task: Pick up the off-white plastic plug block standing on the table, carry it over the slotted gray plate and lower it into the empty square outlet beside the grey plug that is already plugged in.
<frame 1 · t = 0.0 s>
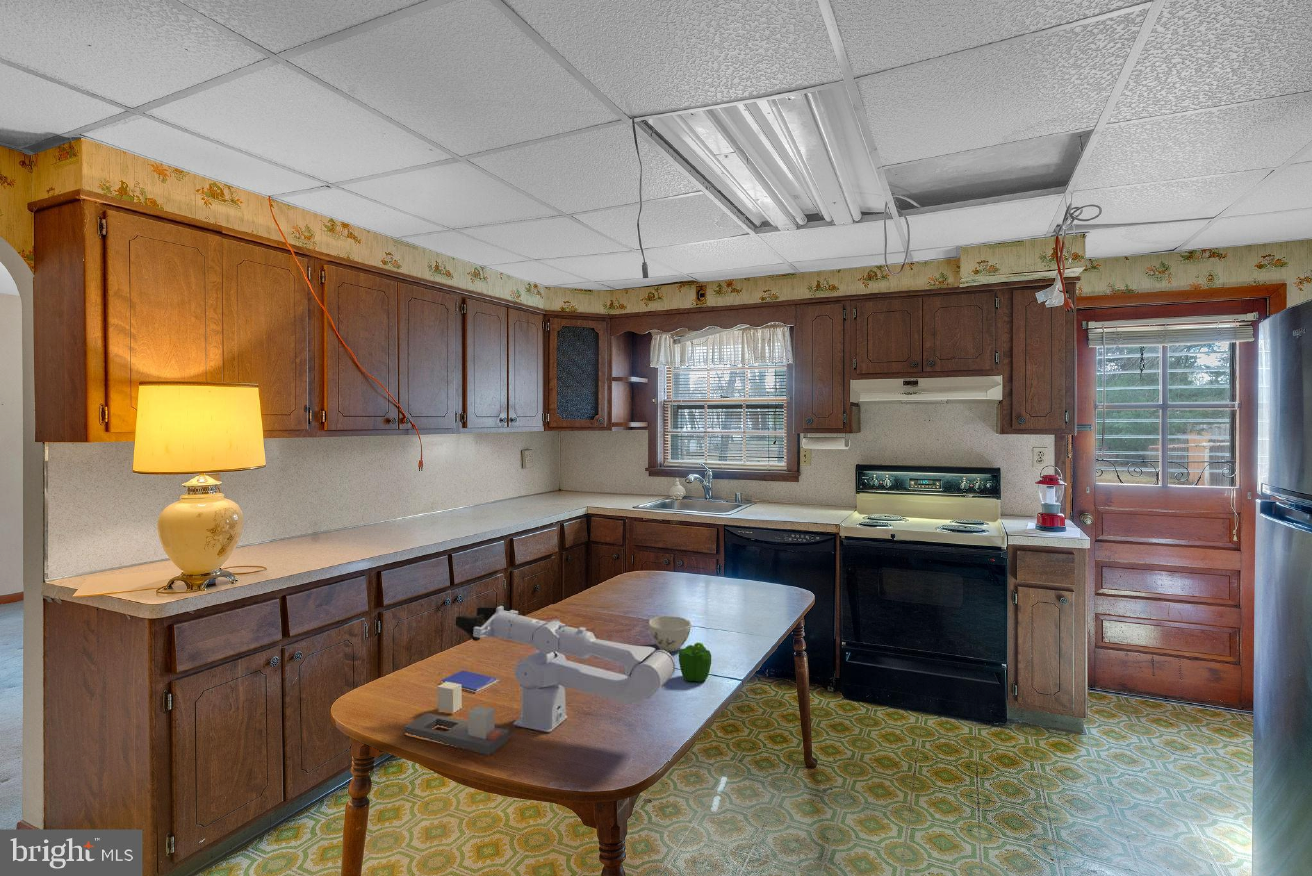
hand: (467, 616, 155), 22 cm above the table, tool horizontal, fingers open, 7 cm apart
blue book: (470, 685, 170), on the table
plug: (449, 710, 154), on the table
bell pepper: (694, 679, 172), on the table
teacup: (671, 647, 196), on the table
slotted gray plate: (456, 737, 141), on the table
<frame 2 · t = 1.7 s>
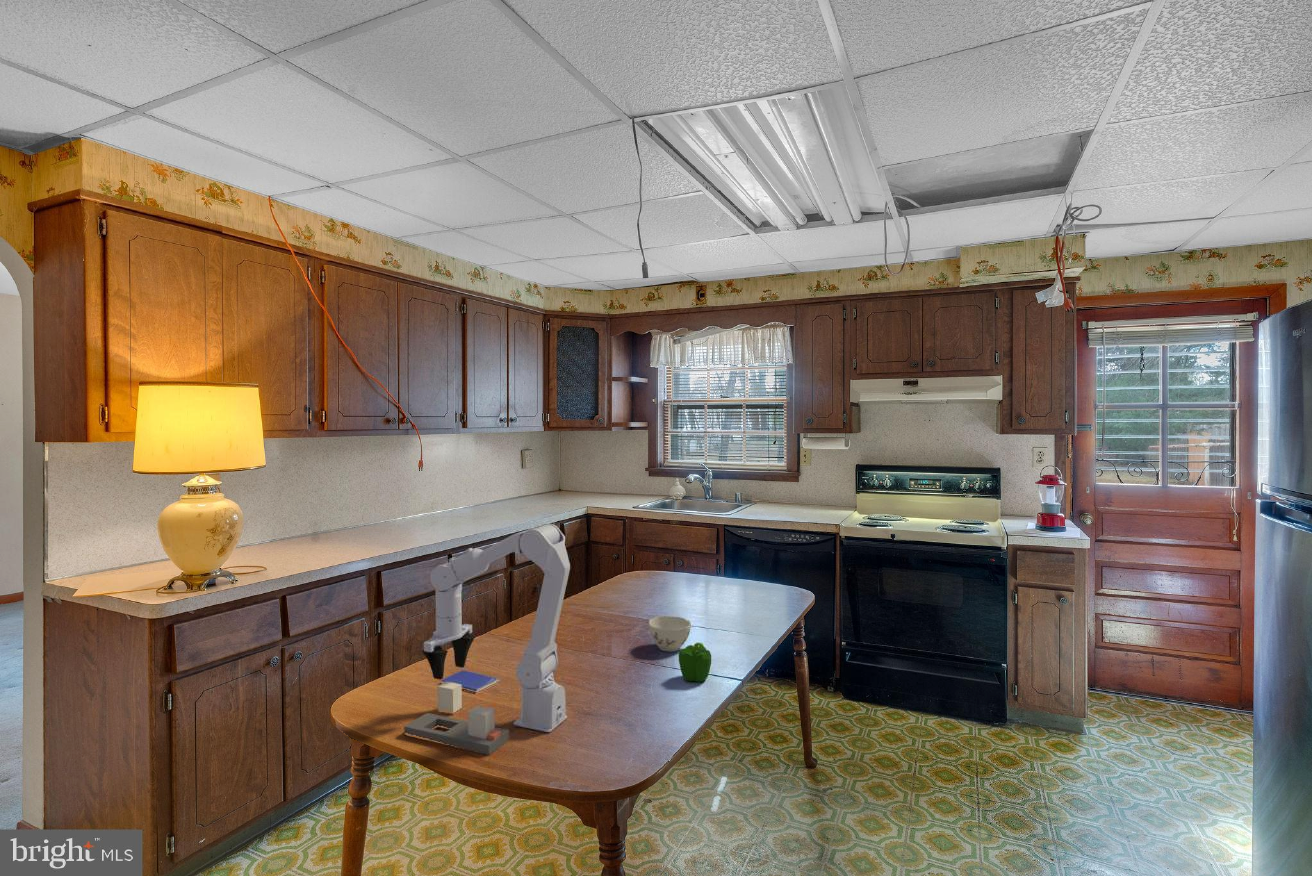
hand: (449, 672, 154), 9 cm above the table, tool pointing down, fingers open, 7 cm apart
nothing on the table moved.
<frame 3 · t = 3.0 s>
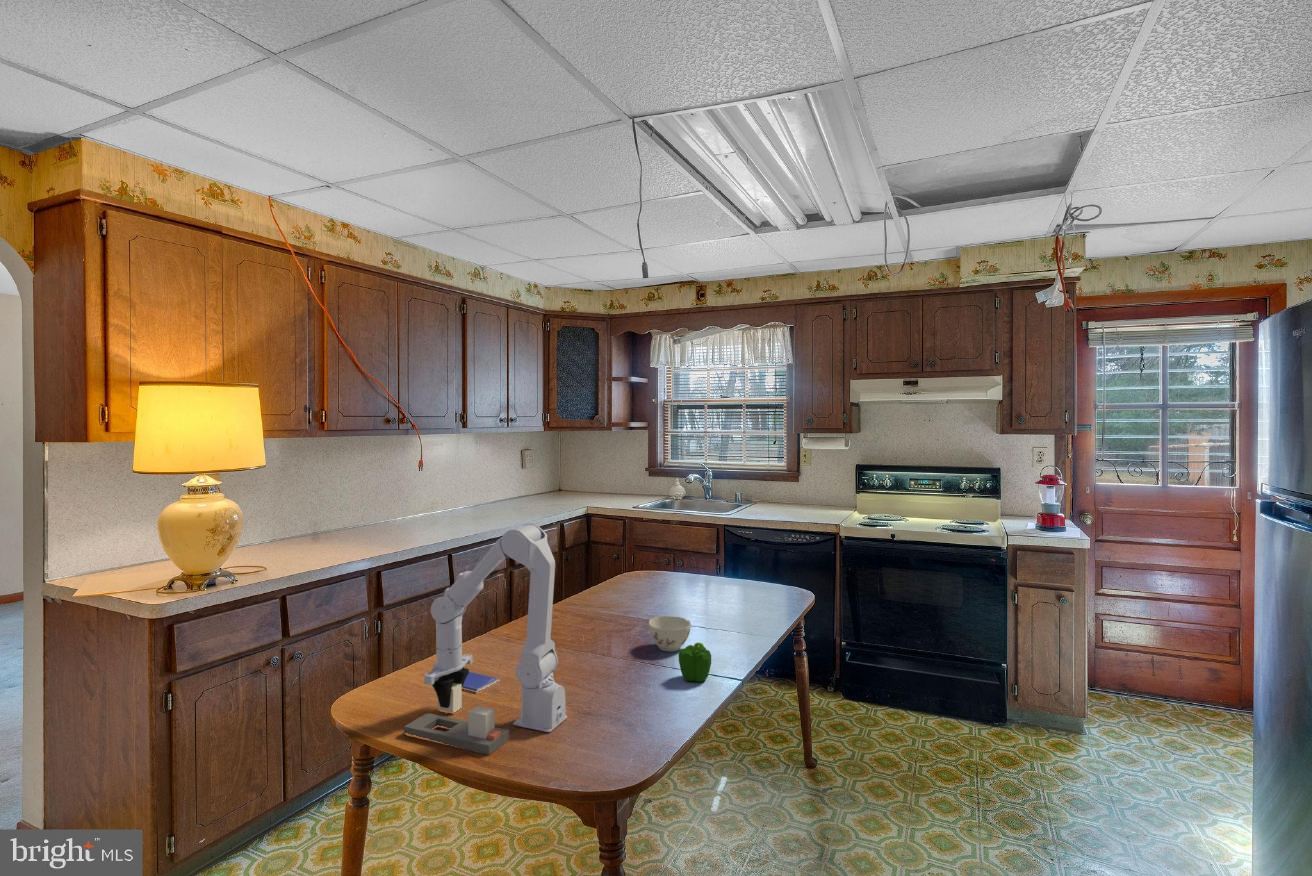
hand: (449, 703, 154), 2 cm above the table, tool pointing down, fingers closed on plug, 3 cm apart
plug: (449, 710, 154), on the table, touching gripper
everything else where it was.
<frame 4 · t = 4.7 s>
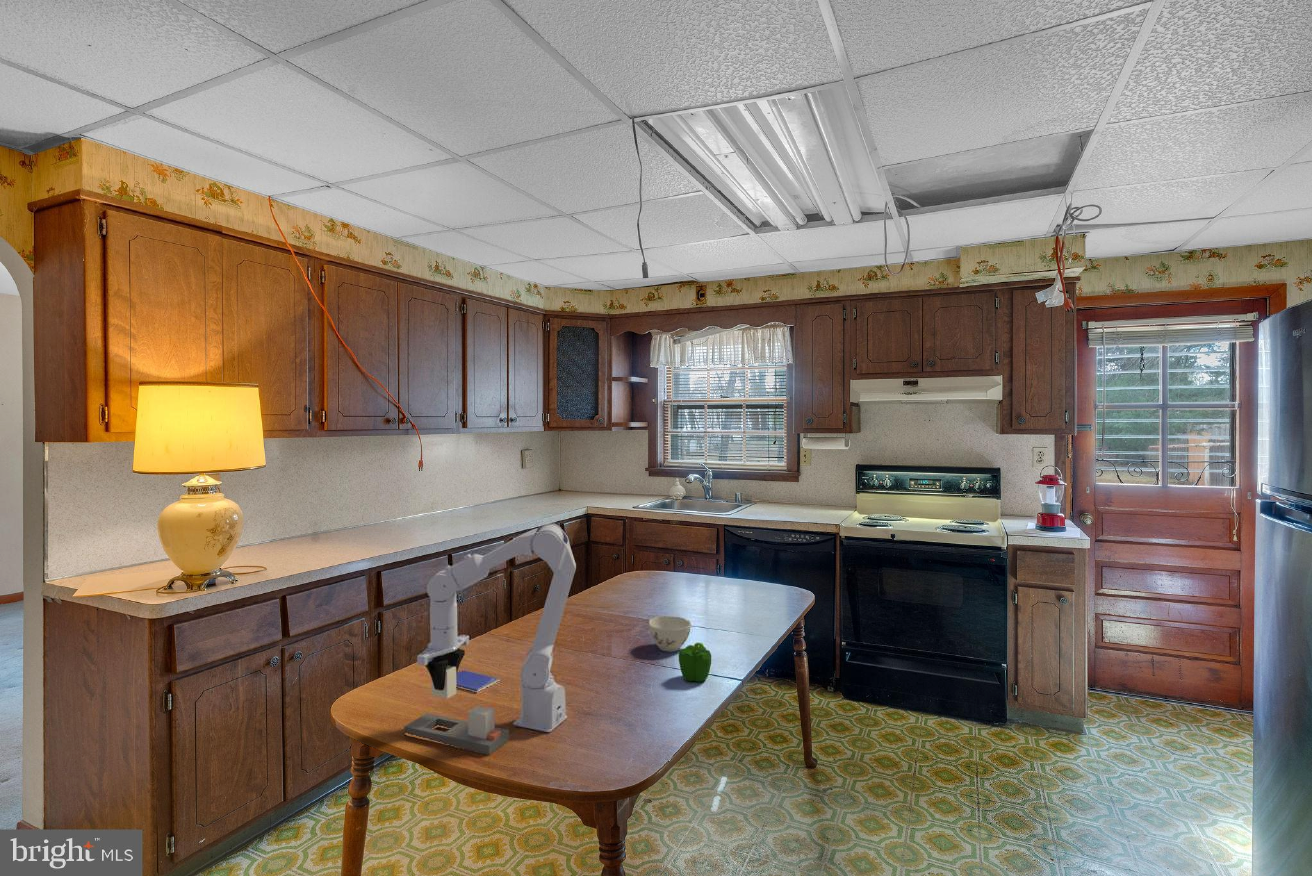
hand: (444, 686, 147), 9 cm above the table, tool pointing down, fingers closed on plug, 3 cm apart
plug: (444, 694, 147), point 7 cm above the table, touching gripper
everything else where it was.
when the fingers open (3 cm above the table, at t = 6.7 s): plug stays where it is, resting in slotted gray plate.
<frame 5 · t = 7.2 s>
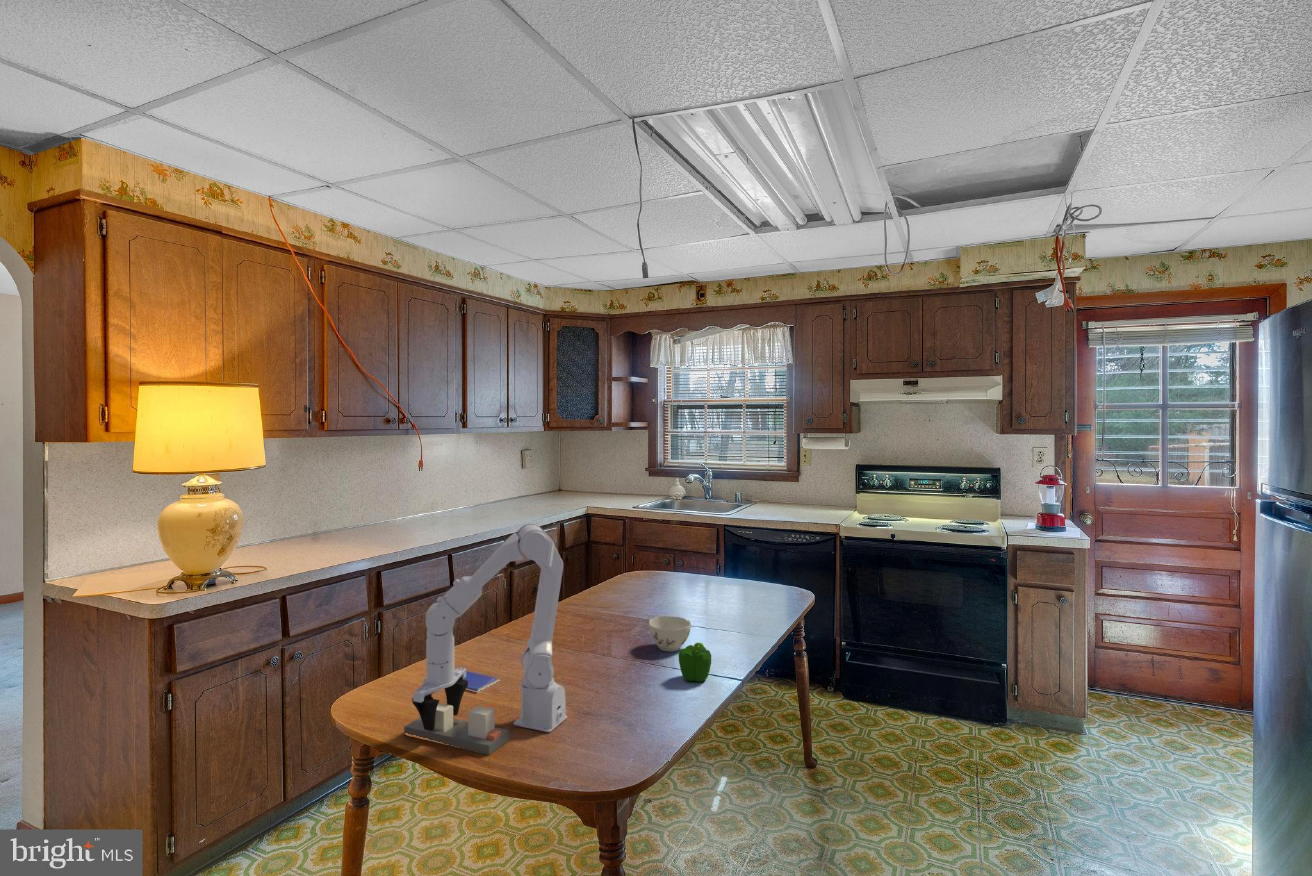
hand: (441, 721, 142), 3 cm above the table, tool pointing down, fingers open, 7 cm apart
plug: (440, 734, 143), resting in slotted gray plate
everything else where it was.
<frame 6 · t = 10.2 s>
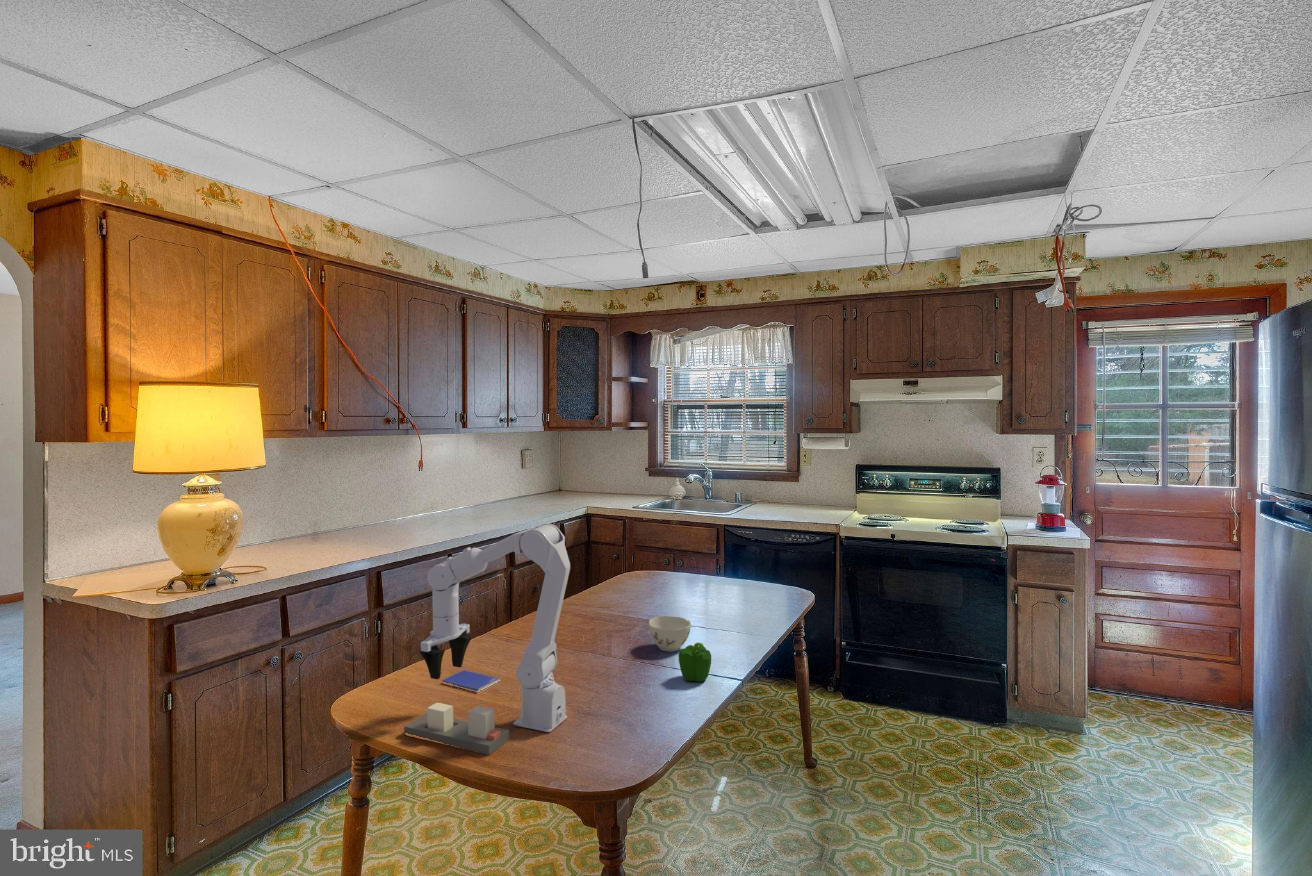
hand: (446, 672, 153), 9 cm above the table, tool pointing down, fingers open, 7 cm apart
nothing on the table moved.
at the end: plug 0.2 cm from the target spot on the slotted gray plate, point 0.0 cm above the slotted gray plate's base; plug tilted 0°; the gripper is holding nothing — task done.
